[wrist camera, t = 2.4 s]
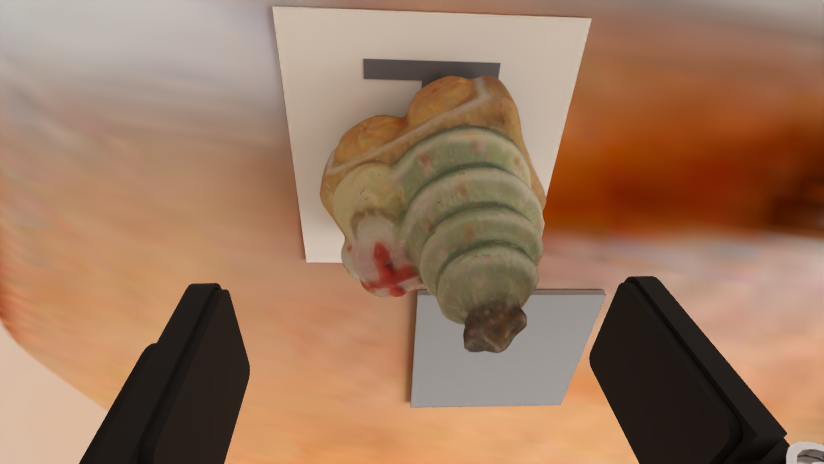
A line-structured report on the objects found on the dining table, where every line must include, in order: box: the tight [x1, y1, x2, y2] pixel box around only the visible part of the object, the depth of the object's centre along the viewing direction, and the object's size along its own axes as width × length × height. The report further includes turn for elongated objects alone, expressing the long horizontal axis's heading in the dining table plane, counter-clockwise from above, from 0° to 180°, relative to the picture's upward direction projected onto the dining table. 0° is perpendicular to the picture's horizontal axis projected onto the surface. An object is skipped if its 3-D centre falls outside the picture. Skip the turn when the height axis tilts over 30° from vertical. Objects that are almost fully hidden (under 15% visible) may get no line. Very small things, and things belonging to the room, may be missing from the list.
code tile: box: [272, 6, 592, 263], centre depth 18 cm, size 11×11×1 cm
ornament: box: [320, 75, 546, 353], centre depth 13 cm, size 8×6×10 cm
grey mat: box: [411, 290, 606, 408], centre depth 25 cm, size 10×10×1 cm
